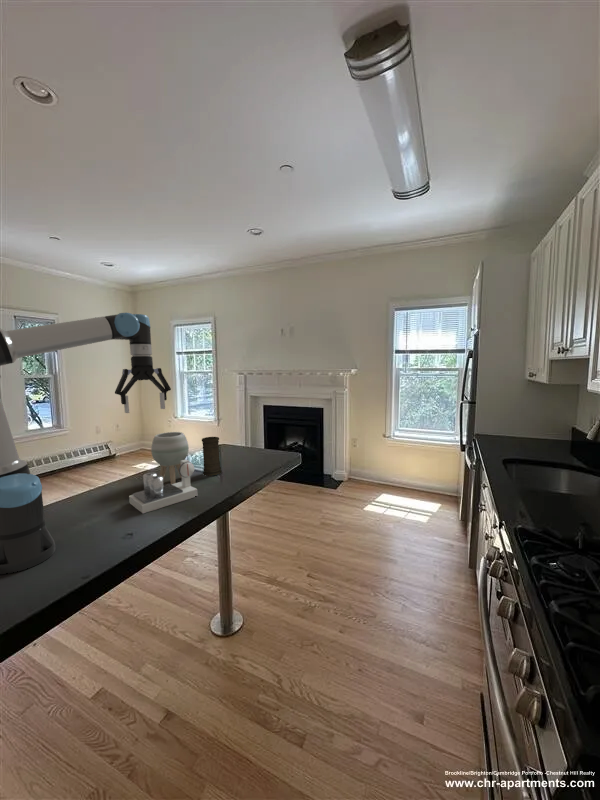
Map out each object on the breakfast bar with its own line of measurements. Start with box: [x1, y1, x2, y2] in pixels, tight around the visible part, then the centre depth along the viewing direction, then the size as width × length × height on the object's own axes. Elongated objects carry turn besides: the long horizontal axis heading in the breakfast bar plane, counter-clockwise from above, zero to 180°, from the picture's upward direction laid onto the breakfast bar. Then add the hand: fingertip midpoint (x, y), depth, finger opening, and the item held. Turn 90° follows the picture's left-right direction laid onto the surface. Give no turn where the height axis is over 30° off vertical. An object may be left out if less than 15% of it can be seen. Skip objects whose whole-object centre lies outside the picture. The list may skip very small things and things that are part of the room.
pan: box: [132, 482, 183, 504], centre depth 136 cm, size 15×12×1 cm
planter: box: [150, 431, 189, 484], centre depth 158 cm, size 16×16×22 cm
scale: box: [128, 459, 198, 514], centre depth 138 cm, size 24×14×14 cm, turn 135°
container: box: [201, 436, 222, 477], centre depth 169 cm, size 9×9×18 cm
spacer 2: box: [149, 475, 164, 498], centre depth 132 cm, size 5×5×7 cm
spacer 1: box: [142, 471, 158, 494], centre depth 136 cm, size 5×5×7 cm
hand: (145, 410), depth 132 cm, fingers open, 13 cm apart
